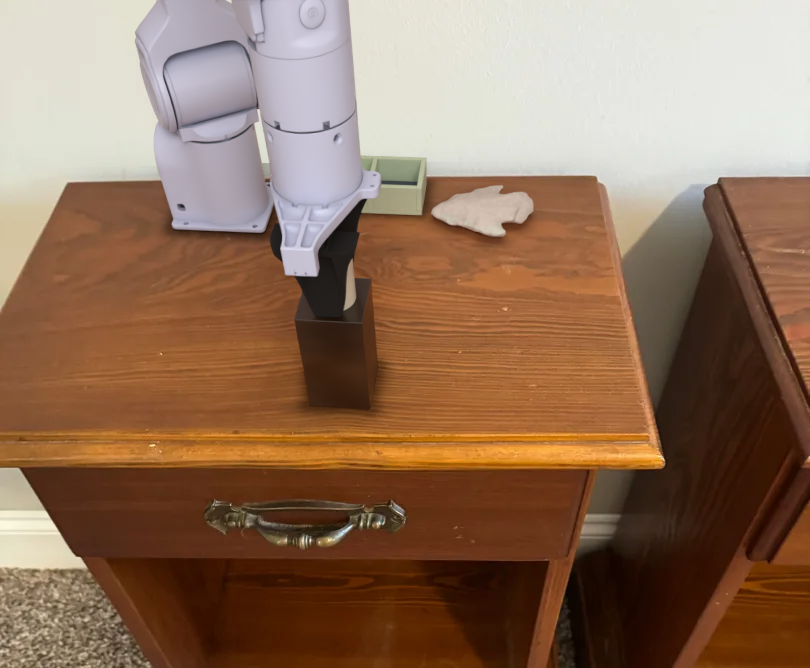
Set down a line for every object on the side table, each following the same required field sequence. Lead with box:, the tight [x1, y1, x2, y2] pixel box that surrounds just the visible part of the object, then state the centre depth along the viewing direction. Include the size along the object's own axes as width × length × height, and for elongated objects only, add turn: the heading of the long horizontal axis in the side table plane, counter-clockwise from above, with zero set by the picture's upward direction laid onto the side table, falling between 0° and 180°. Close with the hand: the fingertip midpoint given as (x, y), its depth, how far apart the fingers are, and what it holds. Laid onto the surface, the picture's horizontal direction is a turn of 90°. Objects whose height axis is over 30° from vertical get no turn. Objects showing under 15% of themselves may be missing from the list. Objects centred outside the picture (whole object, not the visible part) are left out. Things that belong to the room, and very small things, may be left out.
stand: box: [293, 277, 379, 410], centre depth 61 cm, size 5×5×9 cm
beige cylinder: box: [343, 258, 356, 311], centre depth 56 cm, size 3×3×4 cm
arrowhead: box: [430, 184, 534, 238], centre depth 76 cm, size 8×3×10 cm
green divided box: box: [361, 155, 428, 216], centre depth 78 cm, size 10×5×3 cm, turn 84°
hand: (332, 296), depth 57 cm, fingers closed on beige cylinder, 3 cm apart
